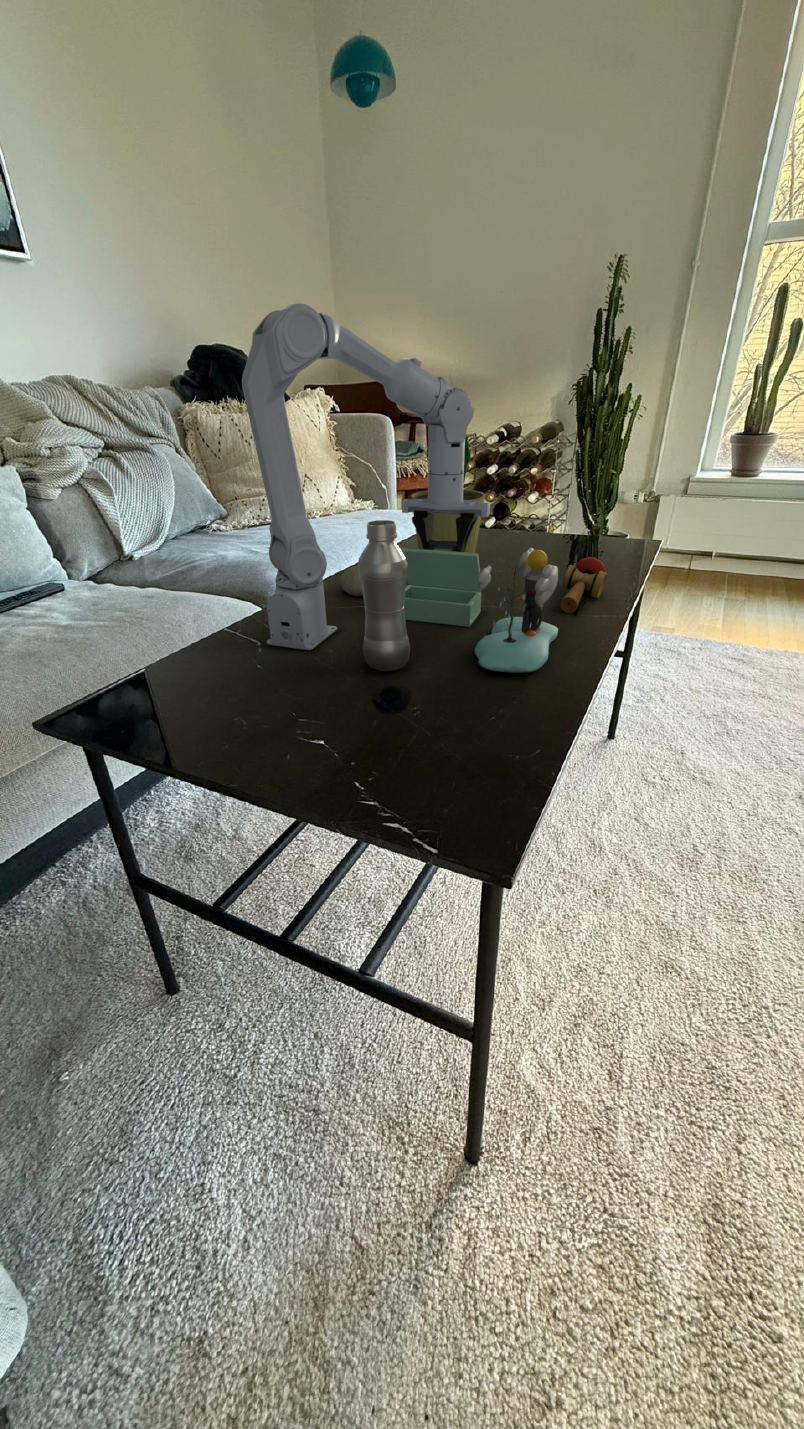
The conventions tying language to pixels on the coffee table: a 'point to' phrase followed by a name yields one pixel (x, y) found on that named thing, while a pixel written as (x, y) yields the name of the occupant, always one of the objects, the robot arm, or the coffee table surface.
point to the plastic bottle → (384, 598)
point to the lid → (442, 566)
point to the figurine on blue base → (521, 621)
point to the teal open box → (442, 605)
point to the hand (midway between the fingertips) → (444, 558)
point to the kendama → (582, 582)
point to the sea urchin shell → (351, 581)
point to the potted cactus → (446, 522)
